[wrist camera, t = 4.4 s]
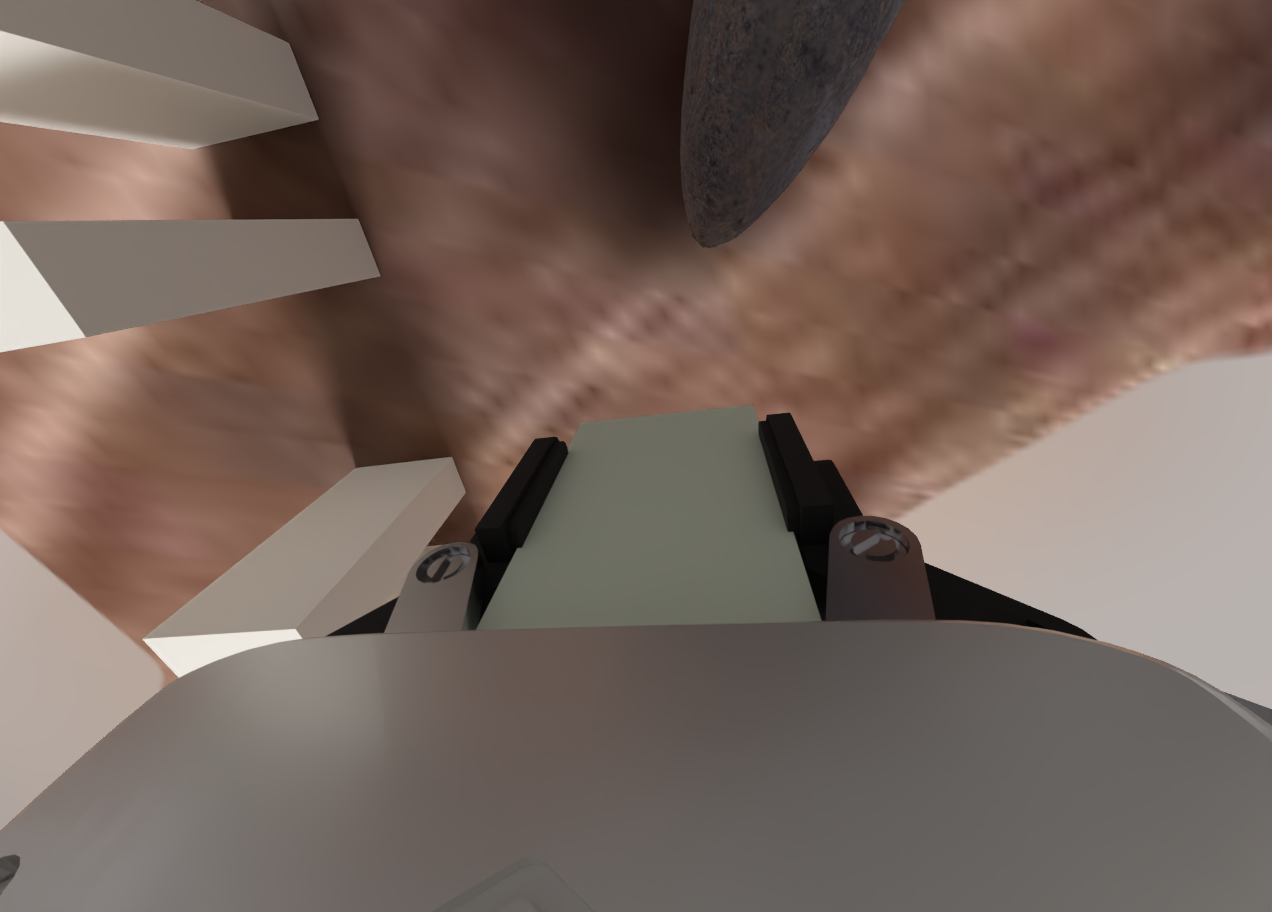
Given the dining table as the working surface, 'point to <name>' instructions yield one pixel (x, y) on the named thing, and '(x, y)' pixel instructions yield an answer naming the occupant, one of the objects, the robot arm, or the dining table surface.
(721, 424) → the domino
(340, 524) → the domino
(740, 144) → the perforated stone tool
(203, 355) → the dining table surface
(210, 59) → the domino
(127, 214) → the dining table surface
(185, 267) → the domino
